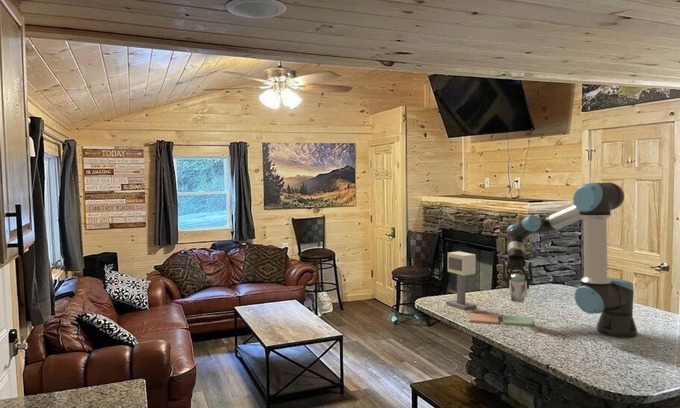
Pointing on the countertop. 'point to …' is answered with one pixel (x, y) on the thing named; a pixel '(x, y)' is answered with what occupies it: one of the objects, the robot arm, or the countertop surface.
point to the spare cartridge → (517, 287)
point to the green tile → (517, 320)
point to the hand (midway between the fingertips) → (518, 294)
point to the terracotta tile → (484, 318)
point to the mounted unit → (461, 276)
